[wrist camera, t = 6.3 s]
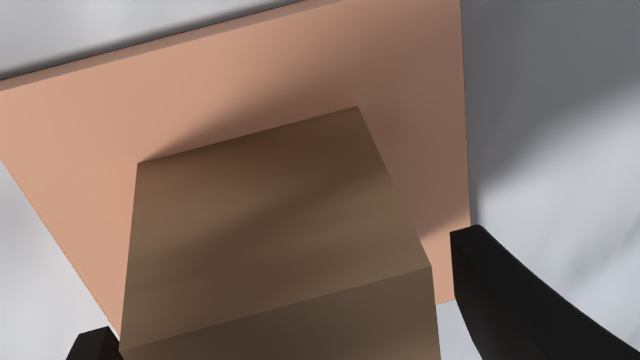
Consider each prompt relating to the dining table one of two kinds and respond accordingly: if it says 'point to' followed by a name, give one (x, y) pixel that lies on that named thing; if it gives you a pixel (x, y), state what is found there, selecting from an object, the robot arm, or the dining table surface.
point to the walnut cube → (277, 252)
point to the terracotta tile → (242, 118)
